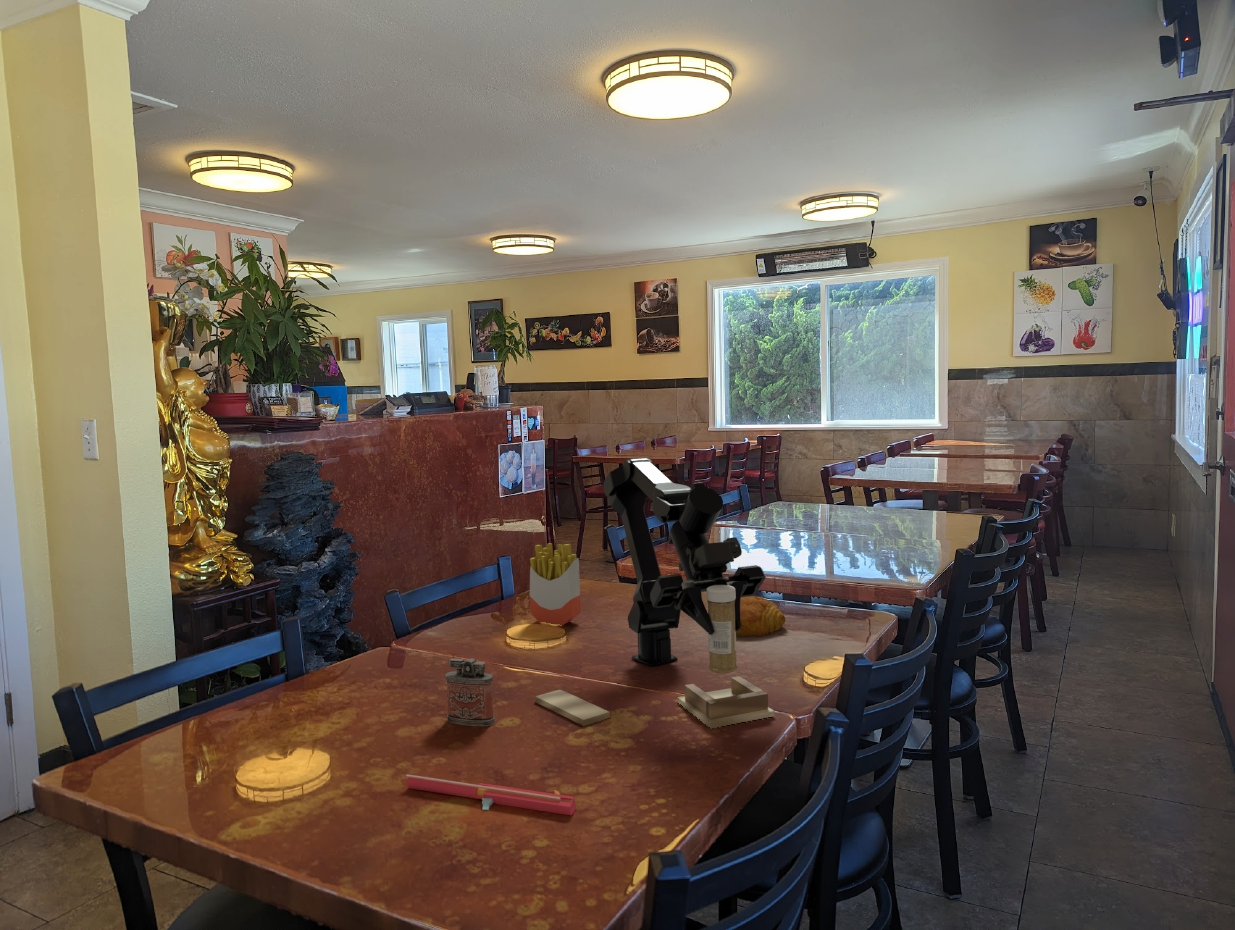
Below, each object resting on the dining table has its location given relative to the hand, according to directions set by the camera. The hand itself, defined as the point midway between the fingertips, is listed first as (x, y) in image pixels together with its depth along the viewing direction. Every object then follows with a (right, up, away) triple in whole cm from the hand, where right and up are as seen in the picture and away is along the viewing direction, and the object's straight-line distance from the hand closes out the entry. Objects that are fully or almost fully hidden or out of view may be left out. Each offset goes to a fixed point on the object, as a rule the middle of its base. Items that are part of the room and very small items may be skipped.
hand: (725, 631), depth 131 cm
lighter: (-40, -15, +1) cm, 43 cm away
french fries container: (-31, -10, +58) cm, 67 cm away
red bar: (-34, -17, -26) cm, 46 cm away
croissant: (+11, -9, +49) cm, 51 cm away
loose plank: (-25, -14, +5) cm, 29 cm away
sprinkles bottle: (0, -7, +2) cm, 7 cm away
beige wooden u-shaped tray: (0, -13, +2) cm, 13 cm away
